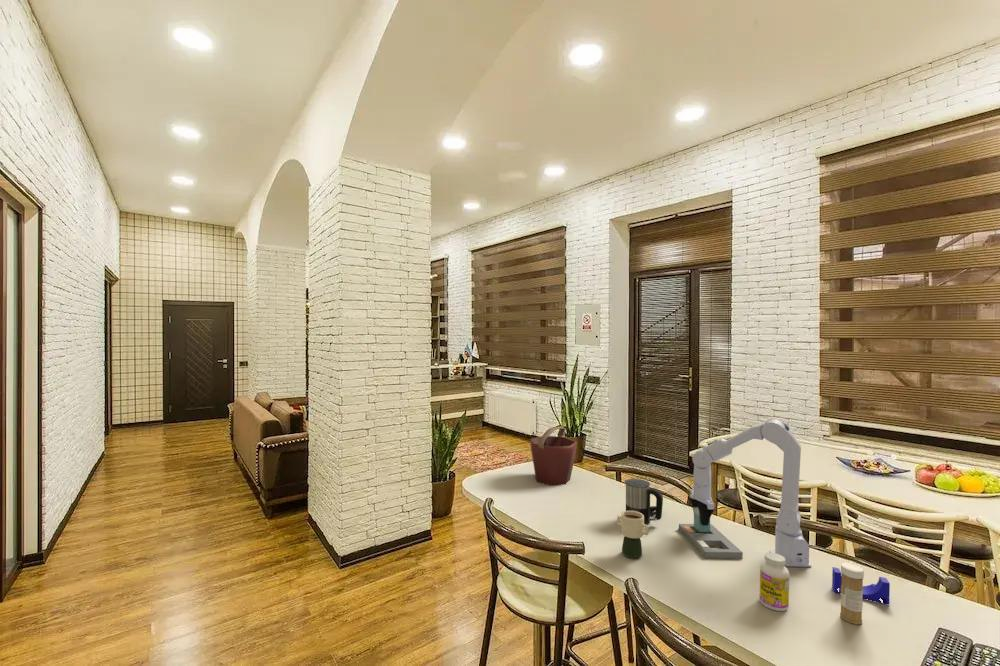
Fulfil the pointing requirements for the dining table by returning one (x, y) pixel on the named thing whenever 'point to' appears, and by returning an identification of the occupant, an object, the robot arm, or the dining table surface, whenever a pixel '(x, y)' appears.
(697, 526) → the plug
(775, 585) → the supplement bottle
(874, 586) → the cable clip
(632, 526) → the character mug
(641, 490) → the milk frother
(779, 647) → the dining table surface
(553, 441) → the bucket
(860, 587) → the sprinkles bottle
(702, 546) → the socket plate
